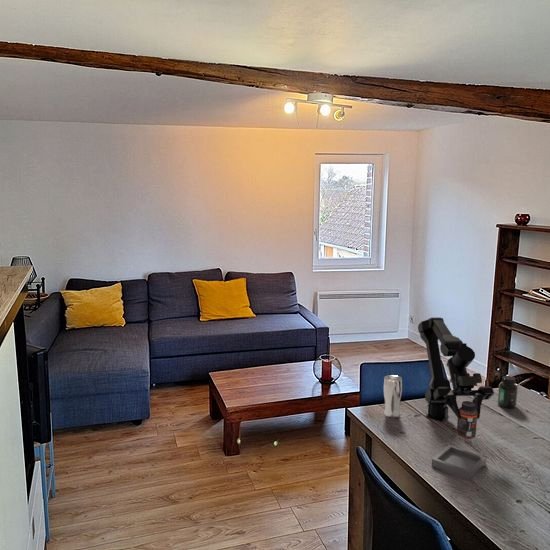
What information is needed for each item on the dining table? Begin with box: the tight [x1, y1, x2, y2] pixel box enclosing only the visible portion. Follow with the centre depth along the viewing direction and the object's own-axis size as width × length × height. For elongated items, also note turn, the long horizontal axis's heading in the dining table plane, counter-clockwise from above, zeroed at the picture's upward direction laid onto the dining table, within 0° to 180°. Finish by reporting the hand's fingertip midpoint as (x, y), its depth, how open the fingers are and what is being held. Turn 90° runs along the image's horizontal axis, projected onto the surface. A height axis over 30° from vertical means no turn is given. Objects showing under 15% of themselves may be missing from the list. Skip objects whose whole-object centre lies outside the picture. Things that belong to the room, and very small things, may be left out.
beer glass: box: [383, 374, 403, 419], centre depth 197 cm, size 7×7×15 cm
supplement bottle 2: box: [497, 375, 519, 410], centre depth 205 cm, size 7×7×12 cm
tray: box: [431, 444, 487, 482], centre depth 161 cm, size 12×12×2 cm
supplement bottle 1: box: [456, 400, 478, 440], centre depth 167 cm, size 6×6×11 cm
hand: (469, 418), depth 165 cm, fingers closed on supplement bottle 1, 6 cm apart
